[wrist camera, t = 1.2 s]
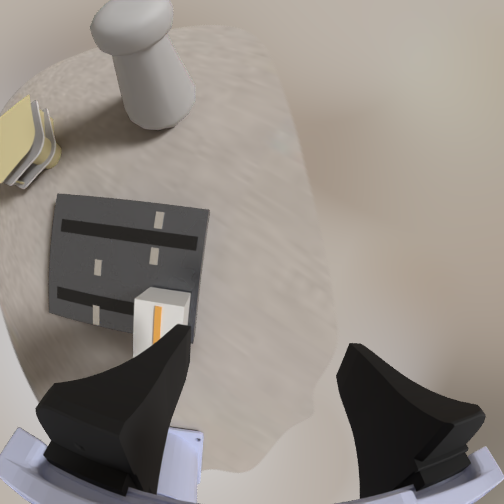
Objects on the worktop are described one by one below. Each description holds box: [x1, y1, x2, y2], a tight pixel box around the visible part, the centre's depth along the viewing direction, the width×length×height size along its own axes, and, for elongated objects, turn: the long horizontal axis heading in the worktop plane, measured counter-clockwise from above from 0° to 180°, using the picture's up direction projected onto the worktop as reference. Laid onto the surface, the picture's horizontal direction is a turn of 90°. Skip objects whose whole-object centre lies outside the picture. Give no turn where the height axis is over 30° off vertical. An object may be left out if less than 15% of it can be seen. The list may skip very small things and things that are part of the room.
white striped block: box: [133, 287, 191, 358], centre depth 17 cm, size 4×3×4 cm
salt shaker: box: [90, 0, 196, 130], centre depth 14 cm, size 6×6×13 cm
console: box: [49, 194, 210, 343], centre depth 19 cm, size 10×13×2 cm
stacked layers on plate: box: [0, 95, 61, 189], centre depth 16 cm, size 10×9×6 cm
